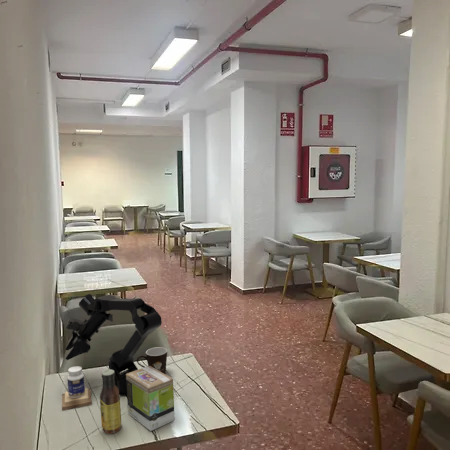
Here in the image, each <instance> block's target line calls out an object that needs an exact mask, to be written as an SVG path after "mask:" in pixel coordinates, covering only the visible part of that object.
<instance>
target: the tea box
mask: <svg viewBox="0 0 450 450" xmlns="http://www.w3.org/2000/svg"><path fill="white" fill-rule="evenodd" d="M126 384H127V396H126V398H127V399H126V401H127V414H129V415H130V416H131V417H132V418H133V419H135V420H136V421H137V422H138V423H140V424H141V425H142V426H144V427H145V428H146V429H147V430H148V431H150V432H152V431H154V430H157V429H159V428H161V427H163V426H165V425H167V424H169V423H171V422H173V421H175V419H176V416H175V414H176V413H175V396H174V395H175V394H174V393H175V392H174V379H173V377H170V376H169V375H168V374H164V373H162V372H160V371H159V370H157V369H155V368H153V367H151V366H148V365H147V366H145V367H144V368H143V367H141V368H140V369H139V368H138V370H136V371H133V372H130V373H127V374H126Z"/></svg>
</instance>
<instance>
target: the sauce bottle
mask: <svg viewBox="0 0 450 450" xmlns="http://www.w3.org/2000/svg"><path fill="white" fill-rule="evenodd" d="M114 377H115V371H114V370H111V369H109V368H108V369H105V370H103V371H102V372H101V378H102V385H101V386H102V387H101V391H100V393H99V407H100V421H101V428H102V431H103V433H105V434H109V435H110V434H116V433H118V432H119V431H120V430H121V428H122V409H121V397H120V395H119V389H118V388H117V386H116V385H115V379H114Z"/></svg>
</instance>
